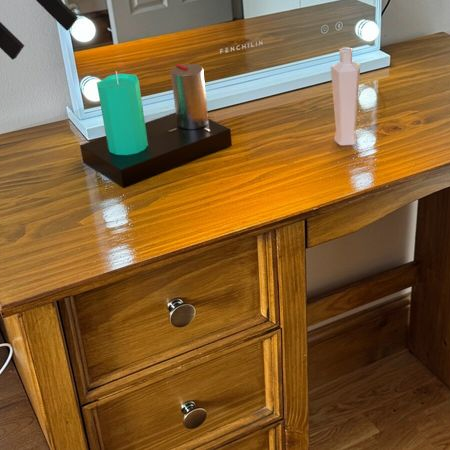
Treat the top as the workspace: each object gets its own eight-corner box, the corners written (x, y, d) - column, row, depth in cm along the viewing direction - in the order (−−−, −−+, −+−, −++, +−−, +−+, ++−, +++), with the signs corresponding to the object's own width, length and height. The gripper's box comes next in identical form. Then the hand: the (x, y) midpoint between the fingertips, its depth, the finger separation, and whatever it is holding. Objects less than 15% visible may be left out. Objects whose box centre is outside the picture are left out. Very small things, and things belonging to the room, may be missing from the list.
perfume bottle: (346, 149, 120) (346, 56, 112) (327, 141, 123) (326, 50, 115) (366, 140, 123) (368, 49, 115) (347, 132, 125) (347, 43, 118)
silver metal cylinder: (214, 123, 123) (209, 67, 118) (189, 132, 120) (182, 75, 115) (196, 114, 126) (190, 60, 121) (171, 123, 123) (164, 68, 118)
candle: (137, 135, 120) (126, 60, 114) (155, 147, 116) (144, 71, 109) (101, 145, 117) (88, 70, 111) (118, 158, 113) (105, 81, 106)
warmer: (123, 188, 111) (120, 169, 109) (82, 162, 119) (79, 144, 117) (239, 142, 123) (238, 124, 122) (196, 122, 131) (194, 104, 129)
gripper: (-21, -72, 119) (80, 29, 123) (-145, -36, 99) (-20, 83, 103) (-1, -108, 115) (104, -3, 119) (-126, -79, 95) (5, 48, 99)
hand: (47, 38), depth 111 cm, fingers open, 13 cm apart
